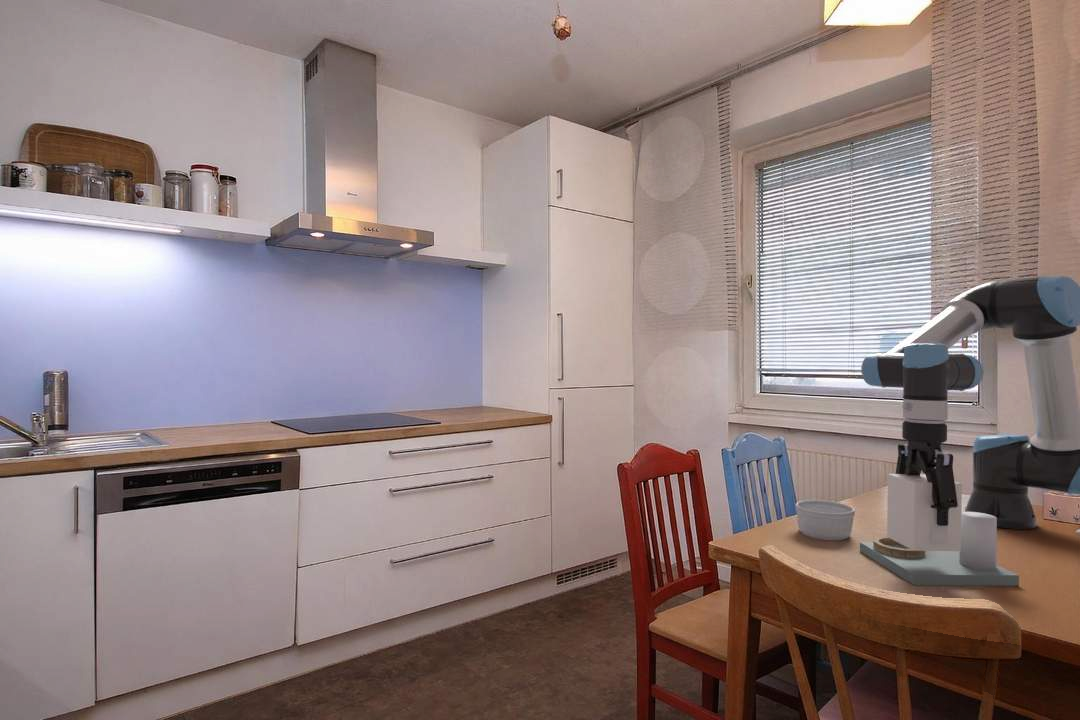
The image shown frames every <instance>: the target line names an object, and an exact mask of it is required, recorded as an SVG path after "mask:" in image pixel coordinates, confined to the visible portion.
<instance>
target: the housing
mask: <svg viewBox="0 0 1080 720" xmlns="http://www.w3.org/2000/svg"><path fill="white" fill-rule="evenodd" d="M955 488H956V496H957V503H958V506H957V507H953V508H949V511H948V526H947V542H932V541H931V505H934V503H933V499H932V483H930V482H928V481H927V478H926V474H924V473H923V474H920V476H917V475H905V474H895V473H887V518H886V519H887V520H886V521H887V522H886V525H887V526H886V527H887V528H886V537H889V538H891V539H892V540H894V541H896V542H898V543H900V544H902V545H904V546H906V547H908V548H910V549H911V550H913V551H961V512H962V506H963V505H962V500H963V499H962V498H963V491H962V490H963V489H962V488H963V483H961V482H957V481H955Z"/></svg>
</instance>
